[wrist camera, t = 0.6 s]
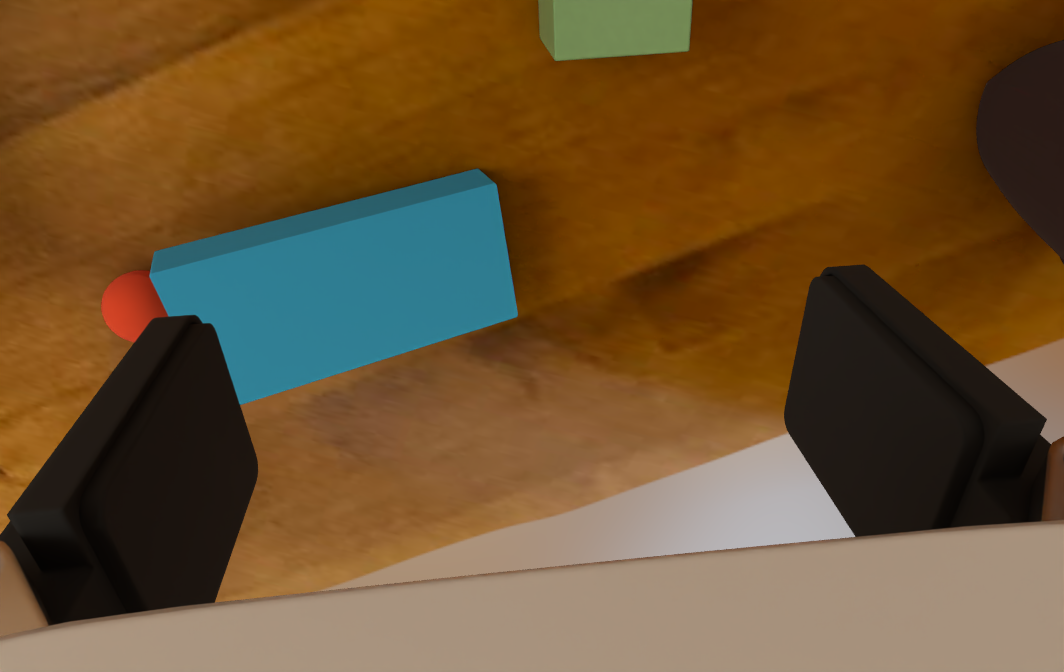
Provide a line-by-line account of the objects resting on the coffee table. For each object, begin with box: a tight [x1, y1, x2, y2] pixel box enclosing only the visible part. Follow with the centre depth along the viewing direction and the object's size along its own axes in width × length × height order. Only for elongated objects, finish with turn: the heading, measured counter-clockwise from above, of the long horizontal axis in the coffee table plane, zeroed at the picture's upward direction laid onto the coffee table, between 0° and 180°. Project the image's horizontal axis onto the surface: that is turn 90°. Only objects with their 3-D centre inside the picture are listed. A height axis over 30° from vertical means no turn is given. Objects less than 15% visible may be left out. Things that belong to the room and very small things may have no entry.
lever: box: [101, 169, 518, 405], centre depth 32 cm, size 7×7×18 cm
